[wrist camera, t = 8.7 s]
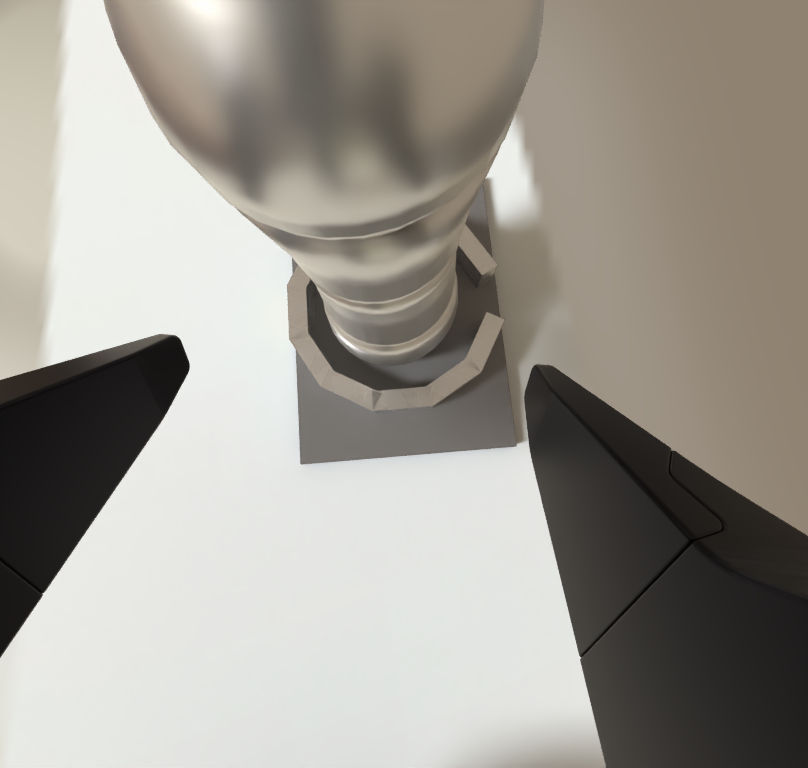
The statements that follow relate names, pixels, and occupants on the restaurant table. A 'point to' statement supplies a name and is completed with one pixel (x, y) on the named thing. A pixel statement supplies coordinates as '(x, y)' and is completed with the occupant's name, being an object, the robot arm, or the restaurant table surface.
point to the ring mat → (413, 429)
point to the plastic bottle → (343, 135)
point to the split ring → (305, 342)
